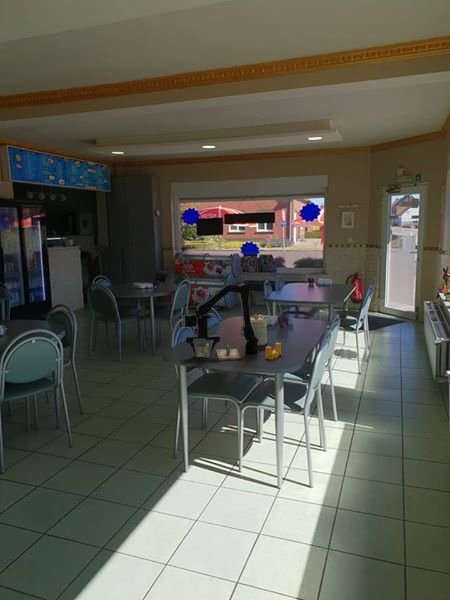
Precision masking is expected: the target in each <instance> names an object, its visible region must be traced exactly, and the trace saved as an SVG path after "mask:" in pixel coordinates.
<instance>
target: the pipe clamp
mask: <svg viewBox="0 0 450 600" xmlns="http://www.w3.org/2000/svg"><path fill="white" fill-rule="evenodd" d="M281 354H282V343H281V342H276V343H274V348H273V349H272V346H265V355H264V356H265V359H267V360H275V359H277V358H279V356H280V355H281ZM274 358H275V359H274Z"/></svg>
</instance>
